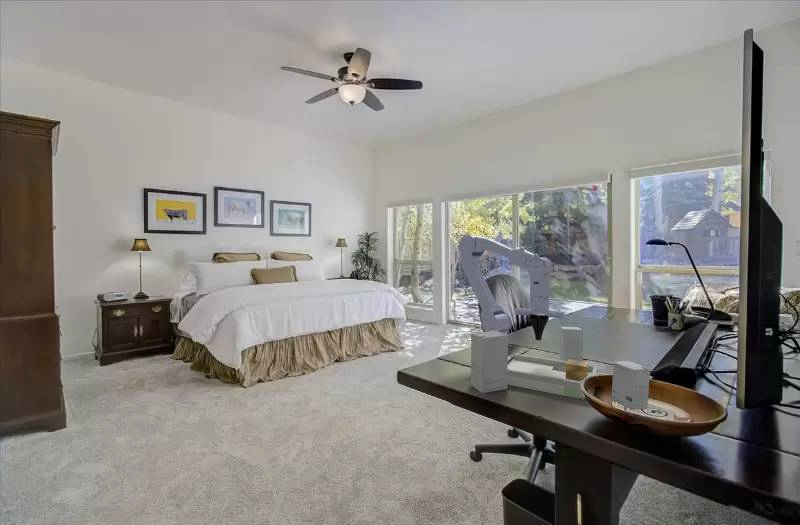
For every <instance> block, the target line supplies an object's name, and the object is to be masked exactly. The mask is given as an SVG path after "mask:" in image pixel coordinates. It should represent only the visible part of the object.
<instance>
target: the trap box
mask: <svg viewBox="0 0 800 525" xmlns="http://www.w3.org/2000/svg"><path fill="white" fill-rule="evenodd" d="M566 363H567V362H566V361H560V359H551V358H546V357H540V356H534V355H533V356H531V355H525V354H521V353H520V354H519V353H514V354H513V359H512V360H511V361H510V362H509V363H508V381H507V386H513V387H517V388H518V387H519V388H523V389H530V390H534V391H539V392H545V393H547V394H548V393H549V394H553V395H554V394H555V395H560V396H565V397H569V398H575V397H576V398H575V399H579V398H582V399H581V400H584V397H583V395H582V393H581V391H580V388H579V384H580V383H581V382H580V381H578V380H573V379H567V378H566ZM598 371H599V366H597V365H591V364H588V376H590V375H591V376H592V375H596V374H598V373H599V372H598Z"/></svg>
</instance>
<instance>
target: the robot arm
mask: <svg viewBox="0 0 800 525" xmlns="http://www.w3.org/2000/svg"><path fill="white" fill-rule="evenodd" d="M457 249H458V252H459V256H460V257H459V258H460V265H461V269H462V270H463V273H464V275H465V277H466V278H467V280H468V284H469V285H470V287H471V290H472V291H473V293H474V295H475V297H476V300H477V302H478V303H479V306H480V308H481V313H480V314H479V316H480V319H481V324H482V325H481V326H482V329H483V331H484V332H488V331H498V332H500V333H503V334H506V335H508V336H509V330H510V329H511V327H512V324H513V321H512V318H511V316H510V315H509V314H508V313H507V312H506V311H505V310H504V307H502V306H501V305H500V304H498V303H497V301H496V299H495V297H494V295H493V293H492V291H491V289H490V287H489V284H488V282H487V281H486V278H485V276H484V275H483V272H482V271H481V268H480V267H479V265H478V264H479V260H480V259H481V258H482V256H483V255H484V253H485V252H486V251H489V252H491V253H494V254H497V255H499V256H502V257H504V258H507V259H508V262H509V264H511V265H513V266H515V267H517V268H519V269H522V270H524V271H526V272H528V274H529V279H530V281H529V308H526V307H525V308H523V307H522V308H521V307H515V308H514V315H516V316H518V315H519V316H520V315H521V316H529V317H528V321H529V323H530V325H531V327H532V329H533V333H534V337H535V340H536V341H542V336H543V332H544V331H545V328H546V325H547V323H548V321H549V320H550V319H552V318H553V319H560V320H565V318H566V317H565V316H566V312H565V311H557V310H551V309H550V295H551V294H550V288H551V286H550V285H551V281H550V279H551V276H550V275H551V273H553V270H554V265H553V262H552V260H550V259H549V258H547V257H546V256H542V257H541V256H540V257H539V254H538V253H532V252H529V251H528V250H526V247H523V246H522V247H521V246H520V247H514V248H511V247H509V246H507V245H505V244H503V243H500V242H499V241H496V240H494V239H492V238H490V237H487V236H486V237H485V236H483V235H471V234H465V235H463V236H461V238H460V239H459V243H458V245H457ZM511 359H512V357H511V356H508V362H509V361H510V360H511Z"/></svg>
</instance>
